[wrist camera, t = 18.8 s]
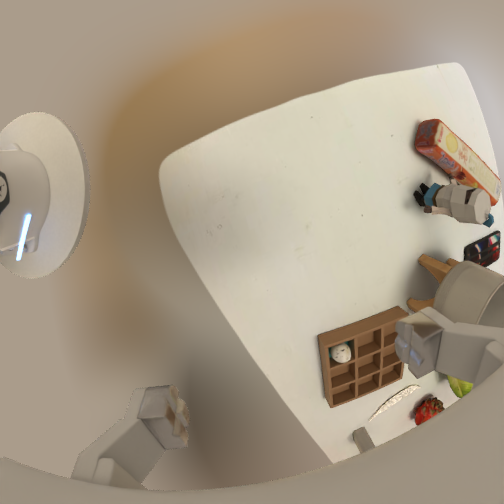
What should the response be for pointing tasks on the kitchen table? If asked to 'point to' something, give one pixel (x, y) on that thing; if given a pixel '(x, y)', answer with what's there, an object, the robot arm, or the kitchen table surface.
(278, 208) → the kitchen table surface
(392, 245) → the kitchen table surface
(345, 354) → the egg
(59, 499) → the robot arm
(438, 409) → the dragon fruit
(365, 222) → the kitchen table surface
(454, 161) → the snack package
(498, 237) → the smartphone
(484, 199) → the toy
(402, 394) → the cream curved tapered piece
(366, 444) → the grey skyscraper model
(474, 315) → the planter
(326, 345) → the compartment tray
